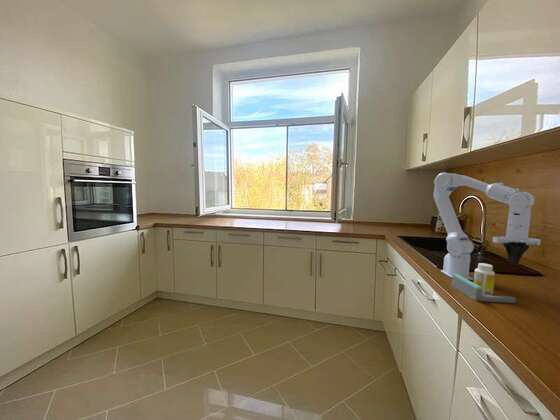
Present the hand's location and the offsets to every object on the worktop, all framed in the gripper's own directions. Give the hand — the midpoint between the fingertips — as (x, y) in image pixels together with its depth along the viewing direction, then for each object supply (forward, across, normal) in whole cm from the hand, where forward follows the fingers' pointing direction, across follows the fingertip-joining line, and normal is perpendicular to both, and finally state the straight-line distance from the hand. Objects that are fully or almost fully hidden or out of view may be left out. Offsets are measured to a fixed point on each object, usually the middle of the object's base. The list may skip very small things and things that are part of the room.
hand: (513, 263), depth 91 cm
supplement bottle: (+11, -12, -3) cm, 16 cm away
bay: (+10, -13, -4) cm, 17 cm away
